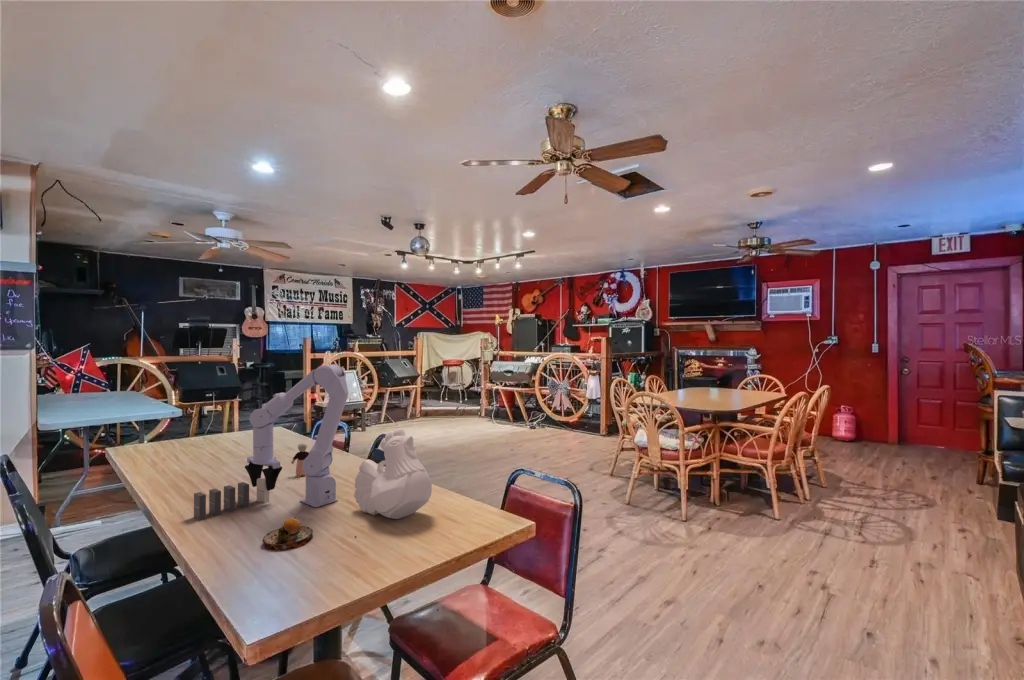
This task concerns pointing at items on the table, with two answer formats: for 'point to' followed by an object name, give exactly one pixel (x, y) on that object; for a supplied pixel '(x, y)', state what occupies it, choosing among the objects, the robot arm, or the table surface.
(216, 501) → the tile
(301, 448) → the grandmother figurine
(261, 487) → the ivory tile
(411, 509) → the decorative rooster
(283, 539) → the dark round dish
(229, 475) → the table surface
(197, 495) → the tile
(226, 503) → the tile
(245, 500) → the tile
